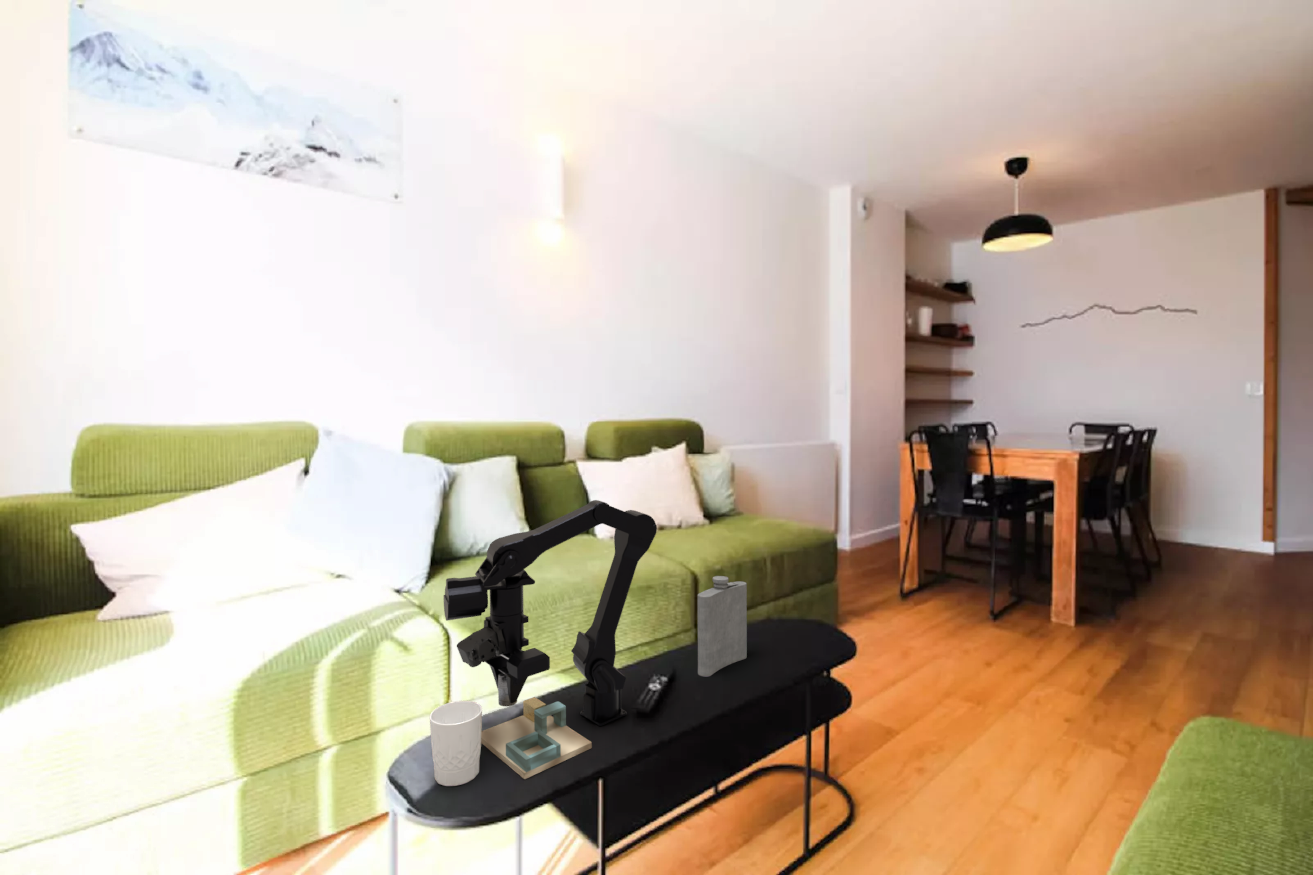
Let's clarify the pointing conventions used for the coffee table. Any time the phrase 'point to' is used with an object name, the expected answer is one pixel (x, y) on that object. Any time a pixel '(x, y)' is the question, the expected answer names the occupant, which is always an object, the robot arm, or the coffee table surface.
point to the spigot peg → (503, 691)
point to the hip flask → (722, 625)
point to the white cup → (456, 741)
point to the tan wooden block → (531, 707)
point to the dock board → (535, 741)
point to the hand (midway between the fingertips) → (508, 699)
